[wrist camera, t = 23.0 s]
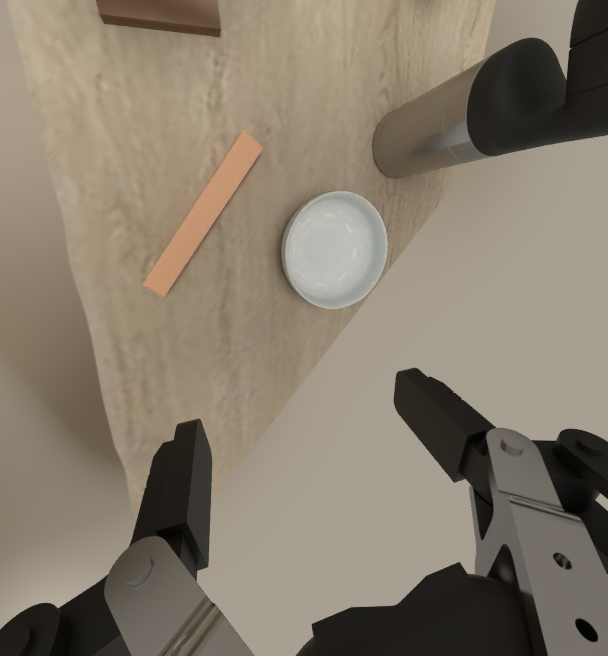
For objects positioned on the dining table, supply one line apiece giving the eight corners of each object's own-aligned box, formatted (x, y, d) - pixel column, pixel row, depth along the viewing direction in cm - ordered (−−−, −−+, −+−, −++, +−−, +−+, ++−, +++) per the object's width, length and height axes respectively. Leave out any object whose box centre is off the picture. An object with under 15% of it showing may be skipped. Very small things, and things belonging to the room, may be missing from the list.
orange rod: (166, 291, 40) (164, 296, 38) (146, 280, 39) (142, 284, 36) (258, 153, 38) (263, 147, 36) (240, 135, 37) (244, 128, 34)
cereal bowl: (256, 217, 41) (266, 216, 35) (351, 179, 44) (376, 172, 37) (294, 314, 48) (308, 327, 42) (372, 276, 51) (396, 284, 45)
